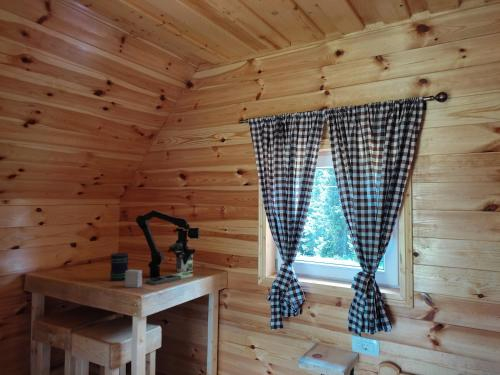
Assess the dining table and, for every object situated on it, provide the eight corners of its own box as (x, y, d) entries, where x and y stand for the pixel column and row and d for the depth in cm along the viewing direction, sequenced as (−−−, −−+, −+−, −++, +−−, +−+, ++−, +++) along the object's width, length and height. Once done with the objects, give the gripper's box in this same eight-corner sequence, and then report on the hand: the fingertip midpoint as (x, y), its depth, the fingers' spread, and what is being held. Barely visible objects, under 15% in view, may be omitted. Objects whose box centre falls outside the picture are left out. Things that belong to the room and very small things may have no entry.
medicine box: (142, 286, 201) (142, 270, 201) (137, 287, 196) (137, 271, 197) (129, 285, 203) (129, 269, 203) (124, 287, 198) (124, 270, 199)
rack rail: (145, 282, 208) (145, 279, 208) (171, 277, 222) (171, 274, 222) (155, 285, 202) (155, 281, 202) (181, 279, 216) (181, 276, 216)
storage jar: (107, 281, 211) (108, 255, 211) (113, 278, 220) (113, 253, 221) (125, 281, 211) (125, 255, 212) (129, 277, 221) (130, 253, 222)
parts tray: (171, 276, 224) (171, 274, 224) (183, 274, 231) (183, 272, 231) (180, 279, 218) (180, 276, 218) (192, 276, 225) (192, 274, 225)
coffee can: (191, 269, 248) (192, 248, 249) (193, 272, 238) (194, 250, 239) (176, 270, 245) (176, 249, 246) (177, 273, 235) (178, 251, 236)
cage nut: (176, 268, 225) (176, 255, 225) (182, 267, 228) (182, 254, 229) (181, 269, 221) (181, 255, 222) (187, 268, 225) (187, 255, 226)
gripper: (162, 238, 226) (162, 263, 225) (181, 240, 213) (181, 267, 213) (176, 237, 234) (176, 261, 233) (196, 239, 222) (195, 265, 221)
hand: (182, 264), depth 225 cm, fingers closed on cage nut, 5 cm apart
